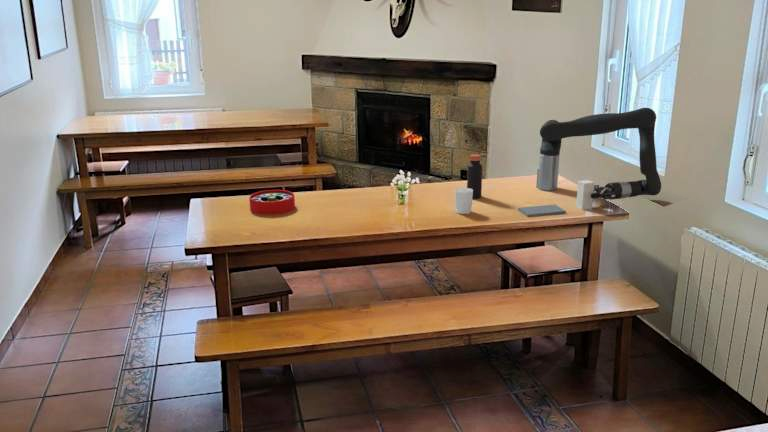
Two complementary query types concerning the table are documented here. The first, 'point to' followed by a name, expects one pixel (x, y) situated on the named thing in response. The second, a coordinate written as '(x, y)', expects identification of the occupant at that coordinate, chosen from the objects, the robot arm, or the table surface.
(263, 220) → the table surface
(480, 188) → the bottle
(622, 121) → the robot arm
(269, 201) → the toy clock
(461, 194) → the white cup
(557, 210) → the mat
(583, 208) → the block
